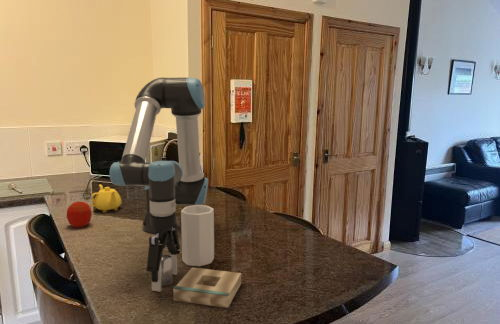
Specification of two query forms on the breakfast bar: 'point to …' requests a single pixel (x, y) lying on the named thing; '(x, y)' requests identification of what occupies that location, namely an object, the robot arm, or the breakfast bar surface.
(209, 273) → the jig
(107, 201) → the teapot
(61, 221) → the breakfast bar surface
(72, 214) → the apple
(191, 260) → the cup
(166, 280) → the grey metal cylinder
